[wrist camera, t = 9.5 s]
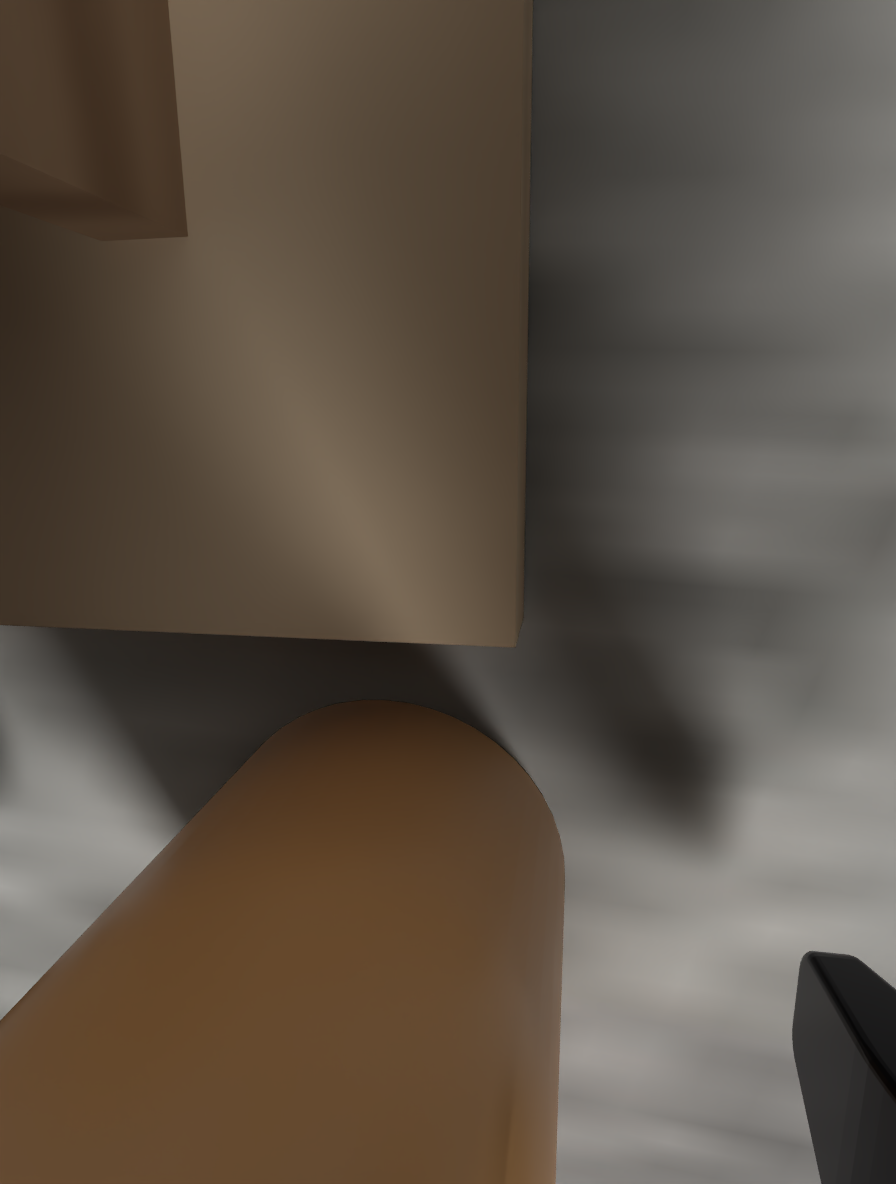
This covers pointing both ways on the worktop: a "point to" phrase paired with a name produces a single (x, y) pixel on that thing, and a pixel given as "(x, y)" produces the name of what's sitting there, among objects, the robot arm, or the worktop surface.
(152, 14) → the dock board
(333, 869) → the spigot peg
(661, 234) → the worktop surface
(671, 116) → the worktop surface
